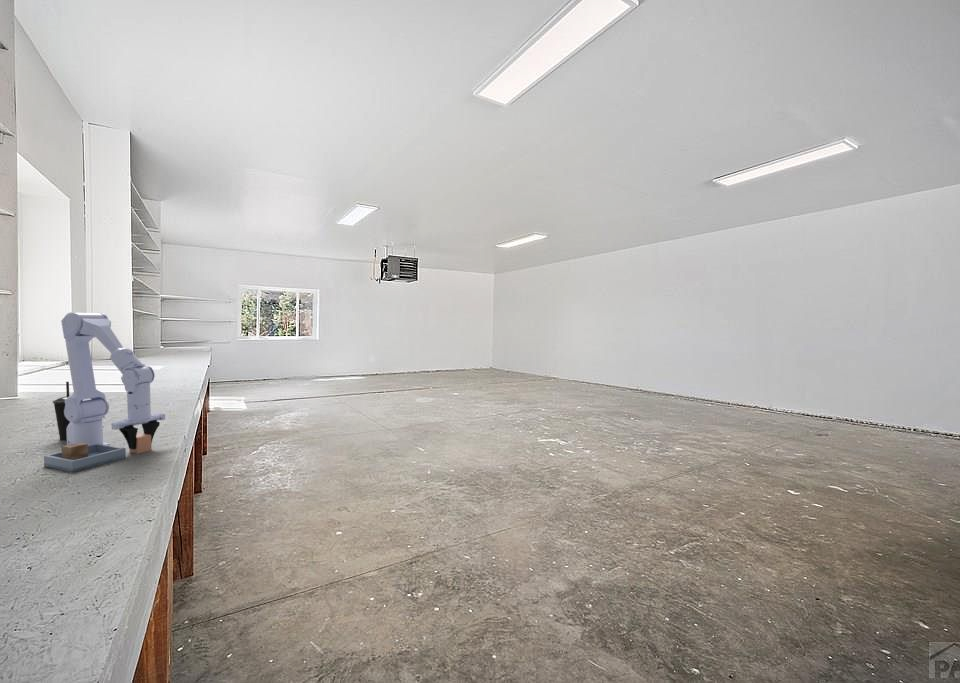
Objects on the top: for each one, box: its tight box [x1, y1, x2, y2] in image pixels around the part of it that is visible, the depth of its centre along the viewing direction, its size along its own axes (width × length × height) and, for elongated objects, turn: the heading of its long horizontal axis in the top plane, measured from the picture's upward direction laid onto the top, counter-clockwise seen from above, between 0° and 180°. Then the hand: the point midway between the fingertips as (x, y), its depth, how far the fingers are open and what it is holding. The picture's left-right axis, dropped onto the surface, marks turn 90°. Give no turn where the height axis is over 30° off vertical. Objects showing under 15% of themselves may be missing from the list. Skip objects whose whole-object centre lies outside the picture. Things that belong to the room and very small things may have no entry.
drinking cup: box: [52, 381, 83, 441], centre depth 147 cm, size 8×8×20 cm
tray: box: [43, 444, 127, 473], centre depth 124 cm, size 13×13×3 cm
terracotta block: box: [128, 432, 152, 454], centre depth 135 cm, size 4×4×5 cm
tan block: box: [61, 442, 88, 460], centre depth 122 cm, size 4×4×5 cm
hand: (140, 446), depth 135 cm, fingers closed on terracotta block, 4 cm apart
